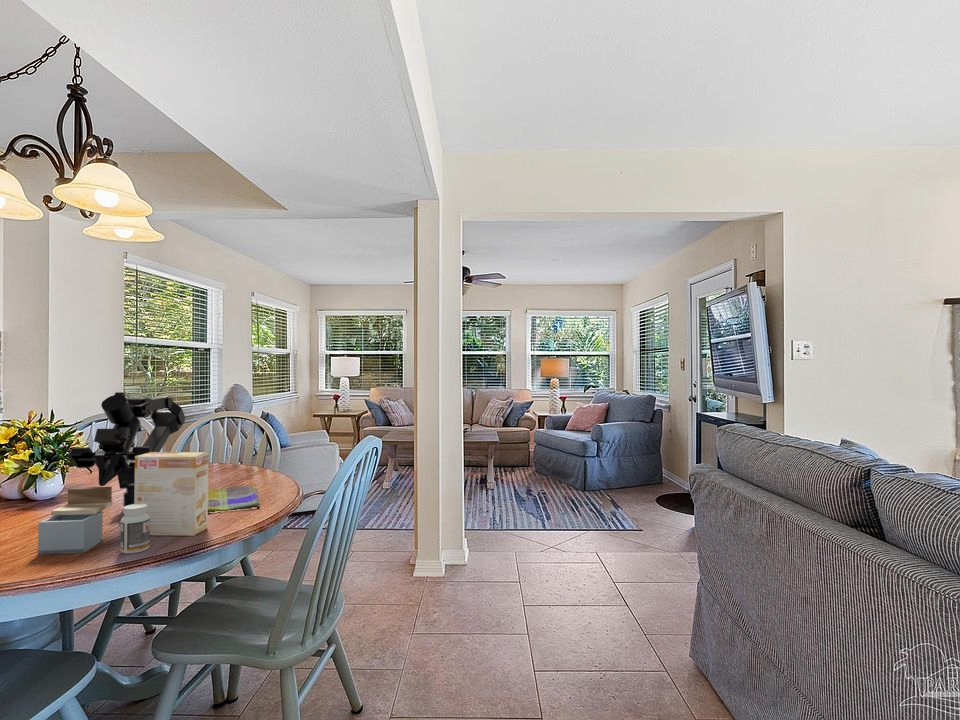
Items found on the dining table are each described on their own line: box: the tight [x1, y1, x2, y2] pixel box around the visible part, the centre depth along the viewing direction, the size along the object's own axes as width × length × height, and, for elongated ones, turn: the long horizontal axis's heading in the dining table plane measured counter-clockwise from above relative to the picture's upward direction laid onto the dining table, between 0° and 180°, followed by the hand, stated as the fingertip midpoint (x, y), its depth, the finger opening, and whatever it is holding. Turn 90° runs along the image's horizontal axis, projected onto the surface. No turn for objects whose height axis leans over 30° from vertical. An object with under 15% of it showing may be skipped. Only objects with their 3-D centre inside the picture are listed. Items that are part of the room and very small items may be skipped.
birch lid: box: [50, 486, 113, 516], centre depth 128 cm, size 8×9×4 cm
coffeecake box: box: [134, 451, 209, 537], centre depth 136 cm, size 15×7×20 cm, turn 90°
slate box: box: [37, 510, 104, 555], centre depth 123 cm, size 8×9×7 cm
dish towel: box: [208, 484, 260, 513], centre depth 165 cm, size 18×24×3 cm
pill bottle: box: [119, 504, 151, 555], centre depth 122 cm, size 6×6×10 cm
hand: (101, 485), depth 136 cm, fingers closed
